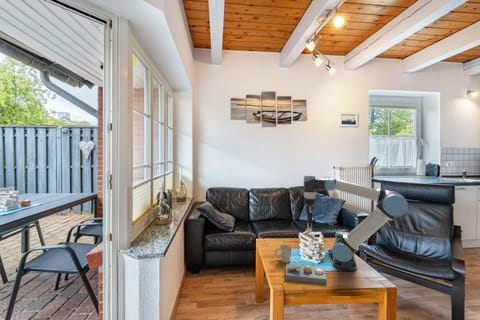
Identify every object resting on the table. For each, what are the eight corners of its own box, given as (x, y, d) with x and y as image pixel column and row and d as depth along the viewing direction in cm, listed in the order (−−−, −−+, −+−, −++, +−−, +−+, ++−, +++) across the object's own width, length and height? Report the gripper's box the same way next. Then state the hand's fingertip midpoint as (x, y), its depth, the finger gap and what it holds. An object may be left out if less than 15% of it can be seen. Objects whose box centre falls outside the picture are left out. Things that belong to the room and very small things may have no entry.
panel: (323, 272, 150) (323, 265, 149) (326, 284, 136) (326, 276, 136) (286, 268, 155) (286, 262, 155) (285, 279, 141) (285, 272, 141)
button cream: (322, 273, 145) (322, 268, 145) (323, 277, 141) (323, 272, 141) (315, 273, 146) (315, 268, 146) (316, 276, 142) (316, 271, 142)
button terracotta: (310, 270, 147) (310, 265, 146) (311, 273, 142) (311, 268, 142) (304, 269, 147) (304, 264, 147) (304, 273, 143) (304, 268, 143)
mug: (291, 263, 162) (291, 249, 161) (274, 262, 164) (274, 248, 164) (291, 258, 170) (291, 245, 170) (274, 257, 172) (274, 243, 172)
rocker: (301, 264, 148) (300, 262, 148) (301, 268, 143) (300, 266, 143) (288, 266, 150) (288, 264, 150) (288, 269, 145) (288, 268, 145)
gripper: (303, 195, 163) (303, 228, 163) (304, 199, 150) (304, 235, 150) (314, 196, 161) (314, 229, 162) (316, 199, 148) (316, 235, 149)
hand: (309, 231), depth 156 cm, fingers closed
